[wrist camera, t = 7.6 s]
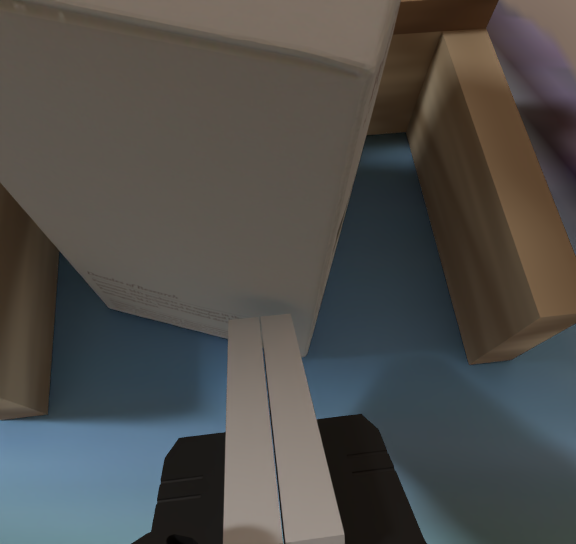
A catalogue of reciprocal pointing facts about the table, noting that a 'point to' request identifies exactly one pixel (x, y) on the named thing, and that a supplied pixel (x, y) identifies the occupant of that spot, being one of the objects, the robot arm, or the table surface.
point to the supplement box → (192, 146)
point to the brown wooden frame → (435, 188)
